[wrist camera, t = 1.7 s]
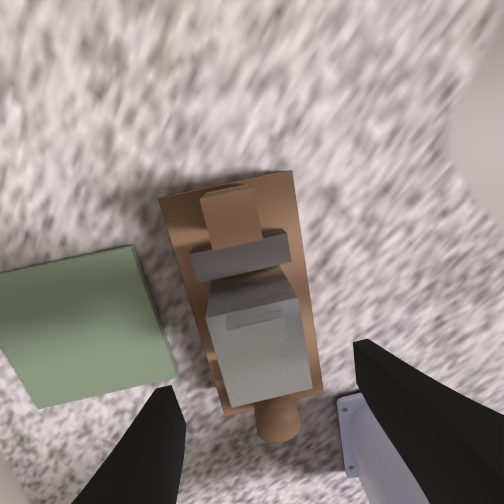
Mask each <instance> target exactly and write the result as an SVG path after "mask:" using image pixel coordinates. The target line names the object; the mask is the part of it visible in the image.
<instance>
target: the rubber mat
mask: <svg viewBox="0 0 504 504" xmlns="http://www.w3.org/2000/svg"><path fill="white" fill-rule="evenodd" d="M0 347H1V348H2V350H3V352H4V353H5V355H6V357H7V358H8V360H9V362H10V363H11V365H12V367H13V368H14V370H15V372H16V373H17V375H18V377H19V378H20V380H21V382H22V383H23V385H24V387H25V388H26V390H27V392H28V393H29V395H30V397H31V398H32V400H33V402H34V403H35V405H36V407H37V408H38V409H42V408H46V407H50V406H55V405H59V404H63V403H68V402H72V401H76V400H80V399H85V398H89V397H93V396H98V395H102V394H106V393H110V392H115V391H119V390H123V389H127V388H132V387H136V386H140V385H145V384H149V383H153V382H157V381H162V380H166V379H170V378H174V377H177V374H178V368H177V366H176V363H175V360H174V357H173V354H172V352H171V349H170V346H169V343H168V340H167V338H166V335H165V332H164V329H163V326H162V324H161V321H160V318H159V315H158V312H157V310H156V307H155V304H154V301H153V298H152V295H151V293H150V290H149V287H148V284H147V281H146V279H145V276H144V273H143V270H142V267H141V265H140V262H139V259H138V256H137V253H136V251H135V248H134V245H129V246H125V247H120V248H115V249H111V250H106V251H101V252H97V253H92V254H88V255H83V256H78V257H74V258H69V259H64V260H60V261H55V262H50V263H46V264H41V265H36V266H32V267H27V268H23V269H18V270H13V271H9V272H4V273H0Z"/></svg>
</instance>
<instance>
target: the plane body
mask: <svg viewBox="0 0 504 504" xmlns="http://www.w3.org/2000/svg"><path fill="white" fill-rule="evenodd" d="M158 200H159V203H160V206H161V210H162V213H163V216H164V219H165V223H166V226H167V229H168V232H169V236H170V239H171V242H172V245H173V249H174V252H175V255H176V258H177V262H178V265H179V268H180V271H181V275H182V278H183V281H184V284H185V288H186V291H187V294H188V297H189V301H190V304H191V307H192V310H193V314H194V317H195V320H196V323H197V327H198V330H199V333H200V336H201V340H202V343H203V346H204V349H205V353H206V356H207V359H208V362H209V366H210V369H211V372H212V375H213V379H214V382H215V385H216V388H217V392H218V395H219V398H220V401H221V405H222V408H223V411H224V414H225V416H229V415H233V414H237V413H242V412H246V411H250V410H255V418H256V427H257V433H258V435H259V436H260V438H262V439H263V440H264V441H267V442H270V443H282V442H286V441H288V440H290V439H292V438H293V437H294V436H295V435H296V434H297V433H298V432H299V430H300V428H301V419H300V416H299V413H298V409H297V406H296V403H295V400H296V399H300V398H304V397H308V396H312V395H316V394H321V393H324V390H323V383H322V376H321V369H320V362H319V355H318V348H317V341H316V334H315V327H314V320H313V313H312V306H311V299H310V292H309V285H308V278H307V271H306V264H305V257H304V250H303V243H302V236H301V229H300V222H299V215H298V208H297V201H296V194H295V187H294V180H293V173H292V170H289V171H280V172H275V173H271V174H266V175H261V176H256V177H251V178H247V179H242V180H237V181H232V182H228V183H223V184H218V185H213V186H209V187H204V188H199V189H194V190H189V191H185V192H180V193H175V194H170V195H167V196H164V197H161V198H158ZM279 265H280V267H281V269H282V270H283V272H284V274H285V276H286V277H287V279H288V281H289V282H290V284H291V286H292V287H293V289H294V291H295V293H296V294H297V296H298V299H299V305H300V311H301V318H302V324H303V330H304V336H305V343H306V349H307V355H308V362H309V368H310V374H311V380H312V387H313V388H312V389H308V390H304V391H300V392H296V393H291V394H287V395H283V396H279V397H275V398H271V399H266V400H262V401H258V402H254V403H250V404H246V405H241V406H237V407H233V408H232V407H231V404H230V400H229V397H228V394H227V390H226V387H225V383H224V380H223V377H222V373H221V370H220V366H219V363H218V359H217V356H216V353H215V349H214V346H213V342H212V339H211V336H210V332H209V329H208V325H207V322H206V319H205V318H206V312H207V305H208V298H209V291H210V285H211V280H216V279H220V278H225V277H229V276H234V275H238V274H243V273H247V272H252V271H256V270H261V269H265V268H270V267H274V266H279Z"/></svg>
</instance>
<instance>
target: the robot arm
mask: <svg viewBox="0 0 504 504" xmlns="http://www.w3.org/2000/svg"><path fill="white" fill-rule="evenodd" d="M353 350H354V361H355V372H356V383H357V385H358V387H359V389H360V391H361V393H357V394H353V395H349V396H345V397H341V398H339V399H338V400H337V410H338V418H339V426H340V434H341V442H342V450H343V458H344V466H345V473H346V475H347V477H348V478H355V477H359V479H360V481H361V484H362V486H363V488H364V490H365V493H366V495H367V497H368V500H369V502H370V504H504V415H502V414H500V413H498V412H496V411H494V410H492V409H490V408H488V407H486V406H483V405H481V404H479V403H477V402H475V401H473V400H471V399H469V398H467V397H465V396H463V395H461V394H460V393H458V392H456V391H454V390H452V389H450V388H449V387H447V386H445V385H443V384H441V383H439V382H438V381H436V380H434V379H432V378H431V377H429V376H427V375H425V374H424V373H422V372H420V371H419V370H417V369H415V368H414V367H412V366H410V365H409V364H407V363H405V362H404V361H402V360H401V359H399V358H397V357H396V356H394V355H393V354H391V353H390V352H388V351H386V350H385V349H383V348H382V347H380V346H379V345H377V344H375V343H374V342H372V341H371V340H369V339H364V340H360V341H356V342H353ZM185 436H186V422H185V420H184V417H183V414H182V412H181V409H180V406H179V404H178V401H177V399H176V396H175V393H174V391H173V388H172V385H170V386H165V387H161V388H157V389H155V391H154V392H153V393H152V395H151V396H150V398H149V399H148V401H147V402H146V403H145V405H144V406H143V408H142V409H141V411H140V412H139V414H138V415H137V417H136V418H135V420H134V421H133V422H132V424H131V425H130V427H129V428H128V430H127V431H126V432H125V434H124V435H123V437H122V438H121V440H120V441H119V442H118V444H117V445H116V447H115V448H114V449H113V451H112V452H111V453H110V455H109V456H108V457H107V459H106V460H105V461H104V463H103V464H102V465H101V467H100V468H99V469H98V471H97V472H96V473H95V475H94V476H93V477H92V479H91V480H90V481H89V482H88V484H87V485H86V486H85V488H84V489H83V490H82V491H81V493H80V494H79V495H78V496H77V497H76V499H75V500H74V501H73V502H72V504H176V500H177V494H178V489H179V483H180V477H181V471H182V465H183V459H184V450H185Z"/></svg>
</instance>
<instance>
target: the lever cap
mask: <svg viewBox="0 0 504 504" xmlns="http://www.w3.org/2000/svg"><path fill="white" fill-rule="evenodd" d="M205 319H206V322H207V325H208V329H209V332H210V336H211V339H212V342H213V346H214V349H215V353H216V356H217V359H218V363H219V366H220V370H221V373H222V377H223V380H224V383H225V387H226V390H227V394H228V397H229V400H230V404H231V407H232V408H233V407H237V406H241V405H246V404H250V403H254V402H258V401H262V400H266V399H271V398H275V397H279V396H283V395H287V394H291V393H296V392H300V391H304V390H308V389H312V388H313V387H312V380H311V374H310V368H309V362H308V355H307V349H306V343H305V336H304V330H303V324H302V318H301V311H300V305H299V299H298V296H297V294H296V293H295V291H294V289H293V287H292V286H291V284H290V282H289V281H288V279H287V277H286V276H285V274H284V272H283V270H282V269H281V267H280V265H279V266H274V267H270V268H265V269H261V270H256V271H252V272H247V273H243V274H238V275H234V276H229V277H225V278H220V279H216V280H211V285H210V291H209V298H208V305H207V312H206V318H205Z"/></svg>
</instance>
